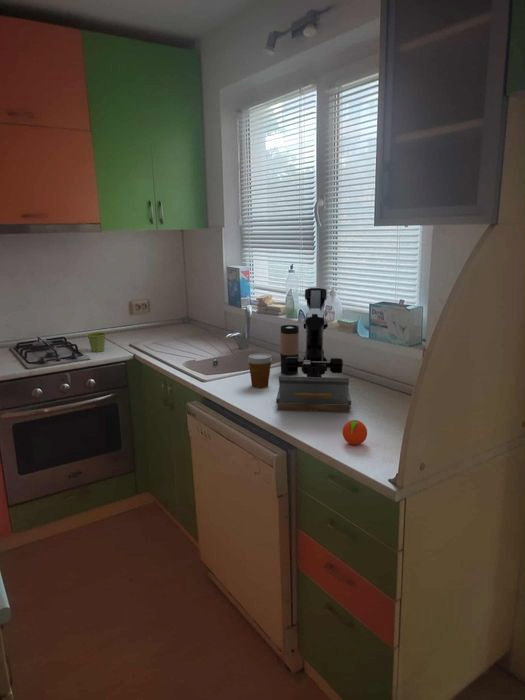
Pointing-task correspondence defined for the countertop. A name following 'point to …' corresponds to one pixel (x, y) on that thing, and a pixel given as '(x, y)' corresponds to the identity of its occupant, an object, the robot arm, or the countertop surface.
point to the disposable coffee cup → (259, 369)
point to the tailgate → (313, 390)
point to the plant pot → (97, 341)
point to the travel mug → (289, 345)
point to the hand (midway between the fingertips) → (313, 387)
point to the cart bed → (313, 406)
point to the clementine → (354, 432)
